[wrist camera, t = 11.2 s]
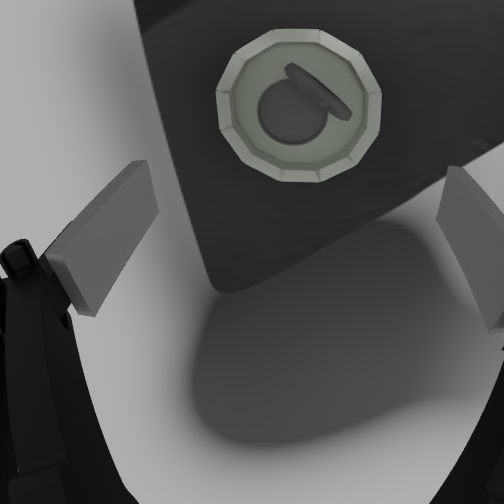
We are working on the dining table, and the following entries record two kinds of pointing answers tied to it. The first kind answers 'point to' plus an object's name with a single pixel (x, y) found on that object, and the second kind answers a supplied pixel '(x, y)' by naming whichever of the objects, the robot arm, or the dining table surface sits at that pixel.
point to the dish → (272, 70)
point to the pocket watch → (298, 108)
